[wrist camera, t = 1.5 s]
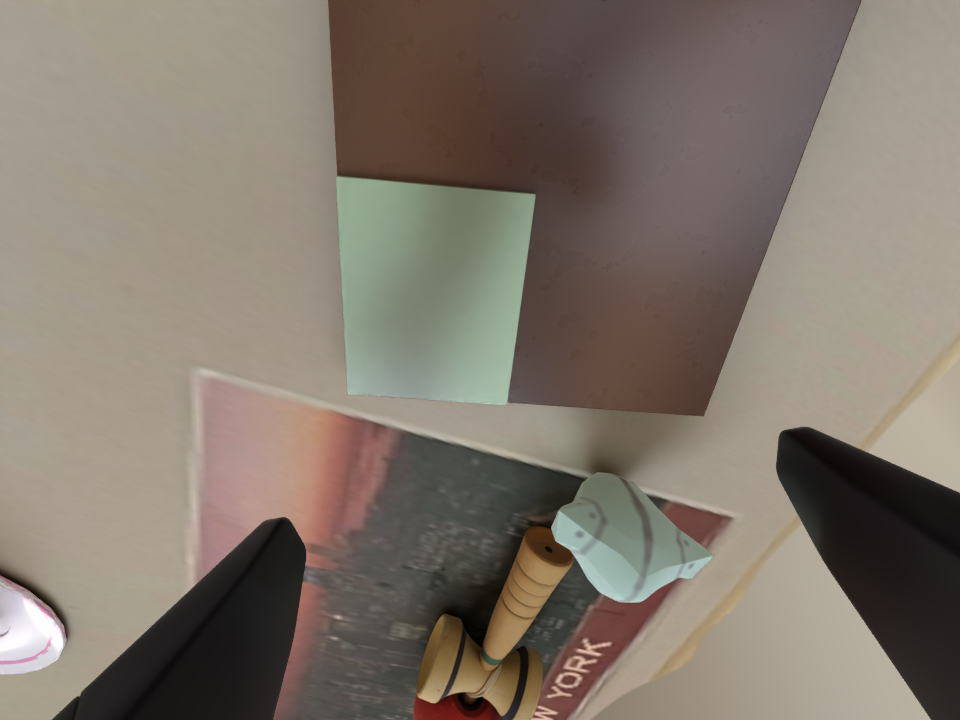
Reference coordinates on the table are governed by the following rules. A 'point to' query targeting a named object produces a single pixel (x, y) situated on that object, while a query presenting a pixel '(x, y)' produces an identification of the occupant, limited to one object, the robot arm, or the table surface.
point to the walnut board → (564, 189)
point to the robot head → (625, 539)
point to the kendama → (494, 645)
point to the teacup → (27, 631)
